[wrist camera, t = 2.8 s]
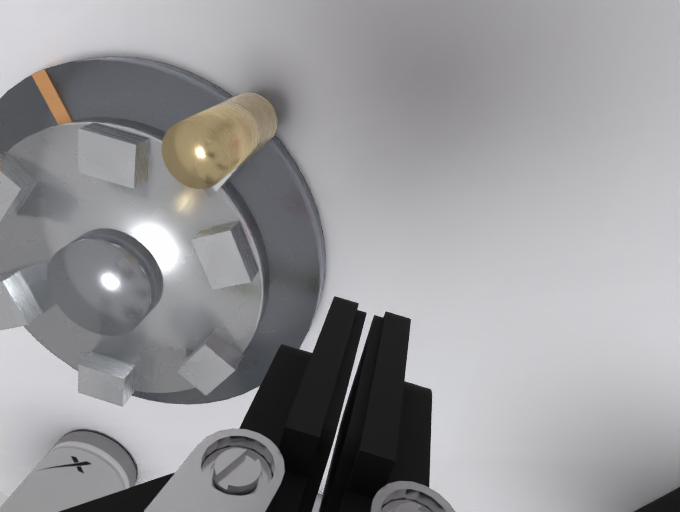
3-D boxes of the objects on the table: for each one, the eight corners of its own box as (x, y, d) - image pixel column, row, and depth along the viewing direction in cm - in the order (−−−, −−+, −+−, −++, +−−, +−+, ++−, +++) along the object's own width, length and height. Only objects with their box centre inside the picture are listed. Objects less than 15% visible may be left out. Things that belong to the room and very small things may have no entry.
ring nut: (167, 415, 33) (110, 498, 28) (-38, 250, 30) (-146, 306, 25) (389, 217, 25) (372, 280, 19) (134, -33, 22) (30, -42, 17)
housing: (-29, 9, 26) (-55, 10, 25) (366, 119, 25) (361, 126, 24) (-1, 334, 35) (-19, 348, 34) (288, 426, 34) (281, 444, 33)
